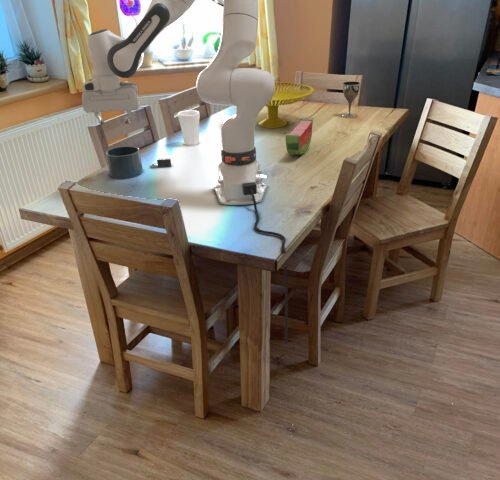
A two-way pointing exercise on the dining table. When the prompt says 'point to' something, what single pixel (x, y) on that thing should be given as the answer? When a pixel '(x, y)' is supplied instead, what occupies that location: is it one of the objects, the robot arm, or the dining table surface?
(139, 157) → the blue-grey round hollow container
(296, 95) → the cake stand
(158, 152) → the dining table surface
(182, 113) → the foam cup
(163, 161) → the two-tone pronged bar
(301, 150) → the fruit slice
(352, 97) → the wine glass
